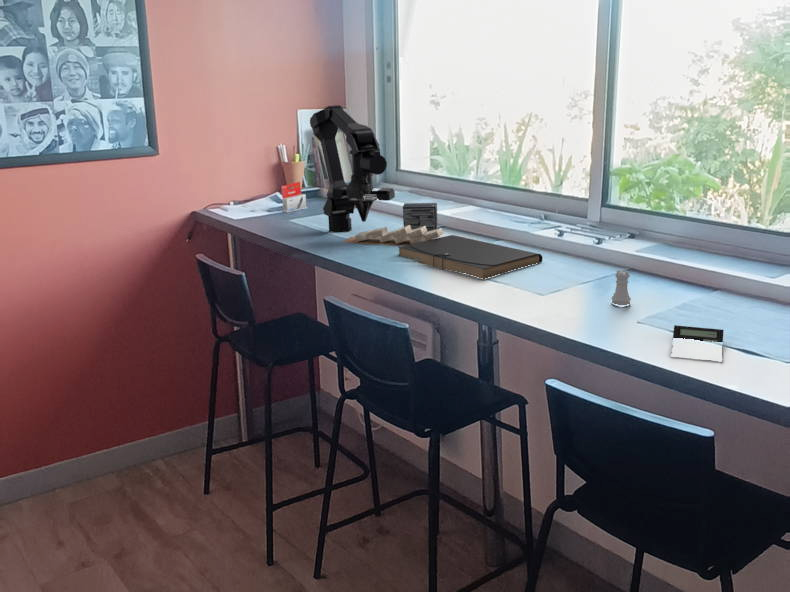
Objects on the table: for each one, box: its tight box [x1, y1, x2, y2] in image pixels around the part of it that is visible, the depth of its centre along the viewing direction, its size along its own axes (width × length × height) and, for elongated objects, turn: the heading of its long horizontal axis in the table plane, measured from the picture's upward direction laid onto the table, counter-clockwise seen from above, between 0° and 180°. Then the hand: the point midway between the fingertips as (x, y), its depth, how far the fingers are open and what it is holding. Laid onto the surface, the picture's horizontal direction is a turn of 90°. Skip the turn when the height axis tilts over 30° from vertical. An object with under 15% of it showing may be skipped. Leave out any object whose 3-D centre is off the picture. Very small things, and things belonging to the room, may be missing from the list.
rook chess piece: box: [611, 269, 632, 305], centre depth 187 cm, size 4×4×8 cm
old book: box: [397, 234, 543, 280], centre depth 228 cm, size 33×4×24 cm
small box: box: [402, 202, 438, 232], centre depth 255 cm, size 11×6×10 cm, turn 84°
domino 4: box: [409, 227, 444, 244], centre depth 244 cm, size 2×5×9 cm
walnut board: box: [342, 236, 411, 247], centre depth 249 cm, size 22×8×1 cm, turn 72°
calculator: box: [672, 325, 724, 343], centre depth 160 cm, size 9×12×3 cm
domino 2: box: [378, 225, 412, 243], centre depth 247 cm, size 2×5×9 cm
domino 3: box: [394, 226, 427, 244], centre depth 245 cm, size 2×5×9 cm
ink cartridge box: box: [280, 181, 307, 213], centre depth 302 cm, size 2×11×10 cm, turn 147°
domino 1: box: [354, 226, 389, 242], centre depth 250 cm, size 2×5×9 cm
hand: (364, 221), depth 249 cm, fingers closed
